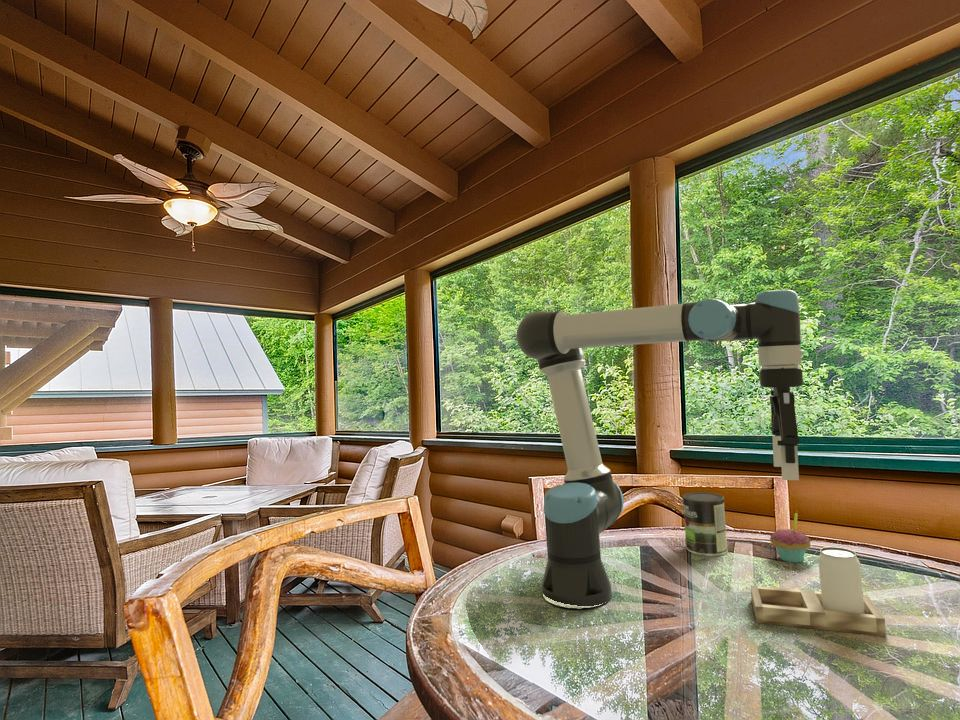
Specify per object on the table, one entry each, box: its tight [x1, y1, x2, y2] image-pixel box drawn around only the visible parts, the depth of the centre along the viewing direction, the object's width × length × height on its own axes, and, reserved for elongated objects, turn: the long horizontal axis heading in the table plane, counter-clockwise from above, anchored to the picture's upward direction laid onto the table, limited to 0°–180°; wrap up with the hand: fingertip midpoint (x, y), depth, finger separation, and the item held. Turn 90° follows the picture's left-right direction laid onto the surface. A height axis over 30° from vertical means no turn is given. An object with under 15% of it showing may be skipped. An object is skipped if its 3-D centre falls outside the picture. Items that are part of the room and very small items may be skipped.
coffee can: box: [681, 491, 729, 557], centre depth 139 cm, size 10×10×14 cm
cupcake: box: [769, 510, 811, 563], centre depth 128 cm, size 9×8×12 cm
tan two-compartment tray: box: [749, 585, 887, 637], centre depth 99 cm, size 20×10×3 cm, turn 67°
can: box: [818, 546, 865, 614], centre depth 97 cm, size 6×6×12 cm
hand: (785, 473), depth 105 cm, fingers open, 13 cm apart
